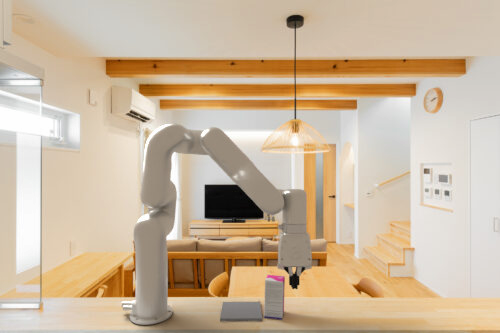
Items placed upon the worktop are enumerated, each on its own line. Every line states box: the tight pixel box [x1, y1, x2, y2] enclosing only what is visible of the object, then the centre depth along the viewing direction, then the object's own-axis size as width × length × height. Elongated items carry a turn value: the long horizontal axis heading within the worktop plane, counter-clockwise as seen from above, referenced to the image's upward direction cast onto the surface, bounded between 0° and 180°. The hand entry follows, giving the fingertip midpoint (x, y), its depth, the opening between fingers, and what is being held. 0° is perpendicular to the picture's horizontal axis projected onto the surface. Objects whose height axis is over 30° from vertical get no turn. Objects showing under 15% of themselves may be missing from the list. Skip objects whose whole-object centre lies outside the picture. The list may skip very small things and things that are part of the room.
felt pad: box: [219, 301, 263, 322], centre depth 98 cm, size 12×12×1 cm
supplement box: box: [263, 274, 286, 321], centre depth 97 cm, size 6×6×12 cm
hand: (294, 287), depth 97 cm, fingers closed
